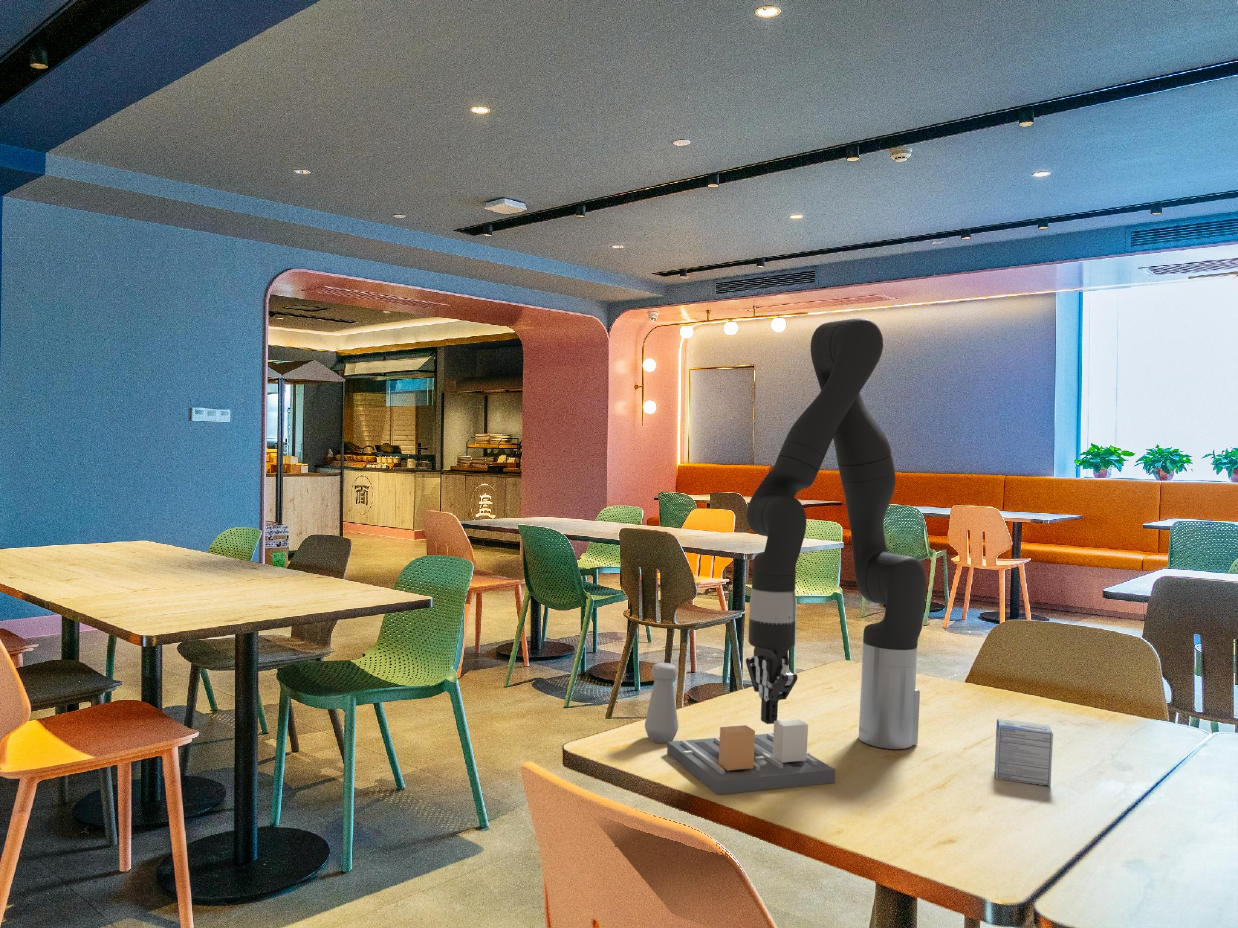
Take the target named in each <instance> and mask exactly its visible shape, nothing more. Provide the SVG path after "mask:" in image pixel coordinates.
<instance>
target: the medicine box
mask: <svg viewBox="0 0 1238 928" xmlns="http://www.w3.org/2000/svg"><path fill="white" fill-rule="evenodd" d="M995 725H996V729H995V753H994V754H995V755H994V772H995V779H996V780H1002V781H1003V780H1004V781H1008V780H1009V781H1010V782H1017V783H1024V784H1030V783H1032V784H1031V785H1036V784H1039V786H1043V785H1049V786H1048V787H1051V786H1052V785H1051V784H1052V765H1053V745H1054V744H1053V743H1054V742H1053V741H1054V732H1053V730H1052V729H1051V727H1050V725H1048V724H1043V723H1035V722H1031V721H1030V722H1028V721H1021V720H1020V721H1019V720H1013V719H1012V720H1011V719H1004V718H1003V719H1002V718H997V719H996V724H995ZM1009 781H1008V782H1009Z"/></svg>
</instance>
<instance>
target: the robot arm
mask: <svg viewBox="0 0 1238 928" xmlns="http://www.w3.org/2000/svg"><path fill="white" fill-rule="evenodd" d="M883 349H884V339H883V333H882V331H881V329H880V327H879V326H878V325H877V324H876V323H875V322H874V321H871V320H870V319H867V318H849V319H842V320H834V321H829V322H824V323H822V324H820V325H819V326H818V327H817V328H816V329H815V330H814V332H813V334H812V336H811V340H810V357H811V362H812V365H813V370H814V373H815V375H816V378H817V382H818V385H819V389H820V391H819V393H818V394H817V396H816V397H815V398H814V400H813V401H812V402H811V403H810V404H809V405H808V407H806V409H805V410H804V411H803V412H802V414H800V416H799V417H798V418H797V419H796V421H795V422H794V423H793V425H792V426H791V428H790V429H789V431H788V433H787V435H786V437H785V440H784V442H783V444H782V446H781V448H780V451H779V453H778V455H777V458H776V460H775V463H774V465H773V467H772V468H771V469H770V470H769V472H768V473H767V474H766V476H765V477H764V478H763V480H762V481H761V483H760V484H759V486H758V487H757V488H756V490H755V491H754V493H753V495H752V496H751V498H750V501H749V502H748V506H747V510H746V521H747V524H748V527H749V528H750V529H751V531H753V532H754V533H755V534H757V535H758V536H764V537H766V538H767V539H766V543H765V547H764V550H763V551H761V552H758V553H757V554H756V555H754V557H753V561H752V571H751V572H752V573H751V590H750V591H751V592H750V599H749V608H748V609H749V611H748V616H749V617H748V640H747V641H748V644H749V645H750V646H752V647H754V648H753V656H751V657H746V659H745V664H746V668H747V671H748V674H749V675H748V676H749V678H750V681H751V684H752V689H753V691H754V693H758V697H759V699H760V700H761V705H760V721H761V722H763V723H764V724H766V725H774V721H778V708H779V707H778V705H779V701H782V700H783V701H784V700H787V698H788V696H789V695H790V693H791V691H792V689H793V688H794V686H795V684H796V682H797V681H798V675H797V673H796V672H793V673H792V672H791V670H790V668H789V665H790V657H789V651H790V649H792V648H794V647H795V645H796V626H797V625H796V624H797V623H796V622H797V621H796V619H797V598H796V578H797V577H796V576H797V575H796V574H797V569H796V568H797V562H798V560H799V557H800V554H801V550H802V546H803V543H804V539H805V535H806V531H807V515H806V510H805V508H804V505H803V504H802V503H801V501H799V500H798V499H797V498H796V495H797V494H798V493H799V492H800V491H802V490H805V489H808V488H810V487H811V486H812V485H813V484H814V482H815V481H816V478H817V476H818V473H819V472H820V468H821V466H822V465H823V462H824V459H825V458H826V455H827V451H829V448H830V446H831V443H832V441H833V443H834V448H835V449H834V450H835V455H836V461H837V466H838V472H839V477H840V482H841V485H842V490H843V494H844V498H845V505H846V510H847V516H848V523H849V529H850V534H851V535H850V536H851V545H852V557H853V567H854V575H855V576H854V577H855V582H856V586H857V589H858V591H859V593H860V595H861V596H862V597H863V598H864V599H865V600H867V601H869V602H871V603H874V604H879V605H884V606H885V611H884V616H883V618H882V619H881V620H880V621H878V622H875V623H874V622H873V623H870V624H869V623H868V624H867V625H866V626H865V627H864V629H863V634H862V635H863V636H862V654H861V655H862V656H861V657H862V658H861V659H862V660H861V678H860V679H861V681H860V698H859V699H860V700H859V702H860V703H859V718H858V719H859V720H858V724H859V725H858V739H859V740H860V741H861V742H863V743H865V744H866V745H869V746H872V747H877V748H881V749H887V750H888V749H889V750H905V749H909V748H911V747H912V746H915V745H918V740H919V739H918V738H919V723H920V721H919V720H920V702H921V701H920V700H921V699H920V698H921V697H920V696H921V691H920V690H919V689H917V688H916V685H917V665H918V664H917V663H918V662H917V661H918V645H919V644H918V641H919V637H920V634H921V632H922V630H923V625H924V624H923V623H924V614H925V613H924V612H925V604H926V596H927V595H926V594H927V574H926V571H925V567H924V565H923V563H922V562H921V561H920V560H919V559H917V558H916V557H914V556H910V555H903V554H897V553H891V552H889V550H888V548H887V543H886V538H885V537H886V536H885V531H884V530H885V529H884V527H885V526H884V523H885V516H886V513H887V511H888V508H889V506H890V503H891V502H892V497H893V496H894V495H893V494H894V493H895V487H896V482H897V477H896V469H895V464H894V460H893V459H894V458H893V453H892V450H891V444H890V441H889V440H888V438H887V436H886V435H885V433H884V431H883V429H882V428H881V426H880V424H879V423H878V421H876V419H875V417H874V416H873V415H872V414H871V412H870V411H869V409H868V407H867V406H866V404H865V403H864V400H863V398H862V396H861V391H862V389H863V388H864V386H865V385H866V383H867V381H868V380H869V379H870V377H871V376H872V374H873V372H874V370H875V369H876V367H877V366H878V363H879V361H880V359H881V357H882V353H883Z"/></svg>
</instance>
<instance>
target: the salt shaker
mask: <svg viewBox="0 0 1238 928" xmlns="http://www.w3.org/2000/svg"><path fill="white" fill-rule="evenodd" d="M677 672H678V670H677V666H675V665H674V664H672V663H670V662H657V663H655V664H654V665H653V666H652V668H651V676H652V678H654V681H653V686H652V688H651V689H652V690H651V695H650V697H649V698H650V700H649V704H648V708H647V712H646V716H645V722H644V729H645V732H646V734H647V737H648V740H649V741H650V742H653V743H654V744H655V743H656V744H668V742H670V741H674V739H675V737H676V735H677V733H678V731H679V726H680V725H679V717H678V713H677V704H676V698H675V690H674V682H673V680H675V679H676V677H677V674H678V673H677Z"/></svg>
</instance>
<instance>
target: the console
mask: <svg viewBox="0 0 1238 928" xmlns="http://www.w3.org/2000/svg"><path fill="white" fill-rule="evenodd" d="M773 734H774V732H771V733H770V732H768V733H761V734H755V743H754V764H753V768H748V769H737V770H726V769H725V768H723V767H722V766H721V765H719V744H720V737H718V736H716V737H711V738H708V737H707V738H699V739H686V740H685V739H680V740H673V741H670V742H668V743H666V744H667V747H666V750H667V751H666V755H667V756H669V757H670V758H671V759H673V760H674V761H675V762H677V764H679V765H680V766H681V767H682V768H683V769H685V770H686V771H688V772H689V773H690V774H691V775H693V777H695V779H696V778H697V780H699V781H700V782H701V783H702V784H703V785H705V786H706V787H708V789H710V790H711V791H712V792H714V793H715V794H716V795H717V796H719V795H730V794H739V793H740V794H741V793H749V792H757V791H767V790H776V789H777V790H778V789H787V788H794V787H804V786H806V787H807V786H814V785H815V786H817V785H825V784H834V783H836V769H835V768H833V767H832V766H831V765H828V764H827V763H825V762H824V761H822V760H820V759H819V758H817V757H815V756H814V755H812V754H810V752H808V751H807V759H806V760H805V761H794V762H783V763H782V762H780V761H779V760H777V759H775V758H774V757H772V755H773Z"/></svg>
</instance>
